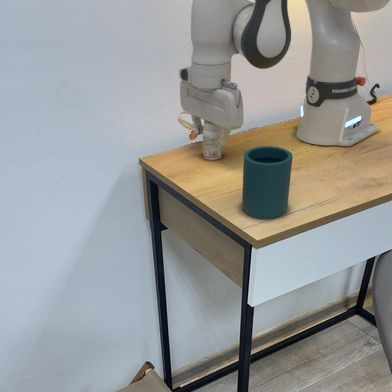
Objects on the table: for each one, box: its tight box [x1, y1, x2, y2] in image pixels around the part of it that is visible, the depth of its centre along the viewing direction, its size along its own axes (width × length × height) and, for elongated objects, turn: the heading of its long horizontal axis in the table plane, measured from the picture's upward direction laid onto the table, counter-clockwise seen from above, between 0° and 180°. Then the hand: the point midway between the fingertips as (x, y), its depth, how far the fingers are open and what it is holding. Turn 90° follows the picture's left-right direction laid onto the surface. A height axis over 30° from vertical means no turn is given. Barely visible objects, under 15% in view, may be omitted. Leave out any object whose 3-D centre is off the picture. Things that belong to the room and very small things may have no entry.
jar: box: [241, 145, 294, 220], centre depth 98 cm, size 9×9×11 cm
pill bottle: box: [202, 120, 223, 161], centre depth 120 cm, size 5×5×8 cm
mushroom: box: [177, 110, 221, 141], centre depth 130 cm, size 7×8×15 cm
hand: (210, 139), depth 119 cm, fingers open, 8 cm apart
